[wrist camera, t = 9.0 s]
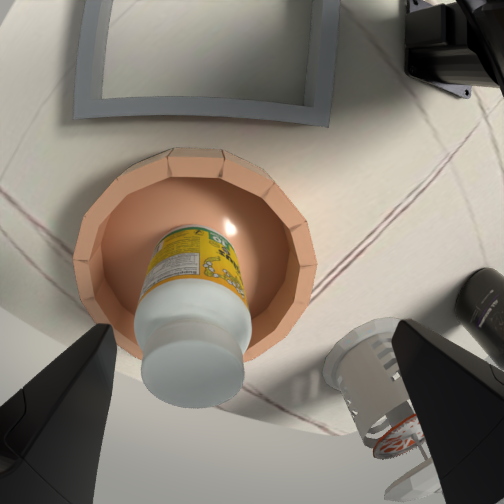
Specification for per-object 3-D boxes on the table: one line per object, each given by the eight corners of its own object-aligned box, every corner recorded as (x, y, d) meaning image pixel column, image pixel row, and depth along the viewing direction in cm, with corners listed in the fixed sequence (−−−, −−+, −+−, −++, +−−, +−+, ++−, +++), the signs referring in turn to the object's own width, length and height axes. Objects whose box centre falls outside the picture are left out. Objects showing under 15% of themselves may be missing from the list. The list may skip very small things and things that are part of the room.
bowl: (312, 156, 19) (334, 167, 16) (283, 336, 25) (293, 367, 22) (85, 149, 16) (62, 159, 13) (107, 334, 22) (97, 365, 19)
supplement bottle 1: (140, 236, 18) (96, 342, 10) (224, 210, 18) (241, 306, 10) (170, 306, 21) (158, 425, 12) (246, 286, 21) (274, 402, 12)
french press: (375, 301, 25) (539, 565, 2) (435, 341, 29) (554, 518, 6) (301, 378, 27) (386, 630, 5) (373, 400, 31) (456, 579, 9)
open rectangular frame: (330, -39, 13) (341, -50, 11) (316, 125, 18) (328, 127, 16) (110, -51, 11) (102, -63, 9) (85, 117, 16) (73, 119, 14)
